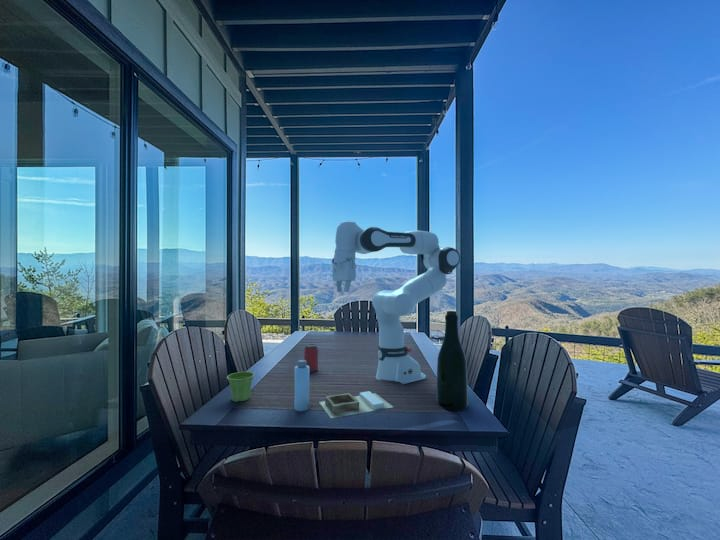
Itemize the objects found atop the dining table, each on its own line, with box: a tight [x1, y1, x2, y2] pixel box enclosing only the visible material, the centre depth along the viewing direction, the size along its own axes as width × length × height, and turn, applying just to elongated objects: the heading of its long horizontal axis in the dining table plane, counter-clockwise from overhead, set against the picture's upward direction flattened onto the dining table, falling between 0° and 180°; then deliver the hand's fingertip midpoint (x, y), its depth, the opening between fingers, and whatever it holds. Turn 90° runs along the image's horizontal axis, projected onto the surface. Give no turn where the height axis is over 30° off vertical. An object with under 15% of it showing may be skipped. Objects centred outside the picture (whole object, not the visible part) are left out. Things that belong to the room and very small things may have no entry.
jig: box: [318, 392, 394, 419], centre depth 109 cm, size 22×14×4 cm, turn 113°
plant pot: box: [226, 371, 255, 403], centre depth 118 cm, size 9×9×9 cm
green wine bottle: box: [436, 310, 469, 412], centre depth 112 cm, size 10×10×33 cm
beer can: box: [303, 343, 319, 373], centre depth 155 cm, size 7×7×12 cm
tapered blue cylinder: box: [293, 359, 310, 412], centre depth 110 cm, size 5×5×16 cm
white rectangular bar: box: [359, 390, 384, 409], centre depth 112 cm, size 4×12×2 cm, turn 23°
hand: (342, 292), depth 134 cm, fingers open, 8 cm apart
